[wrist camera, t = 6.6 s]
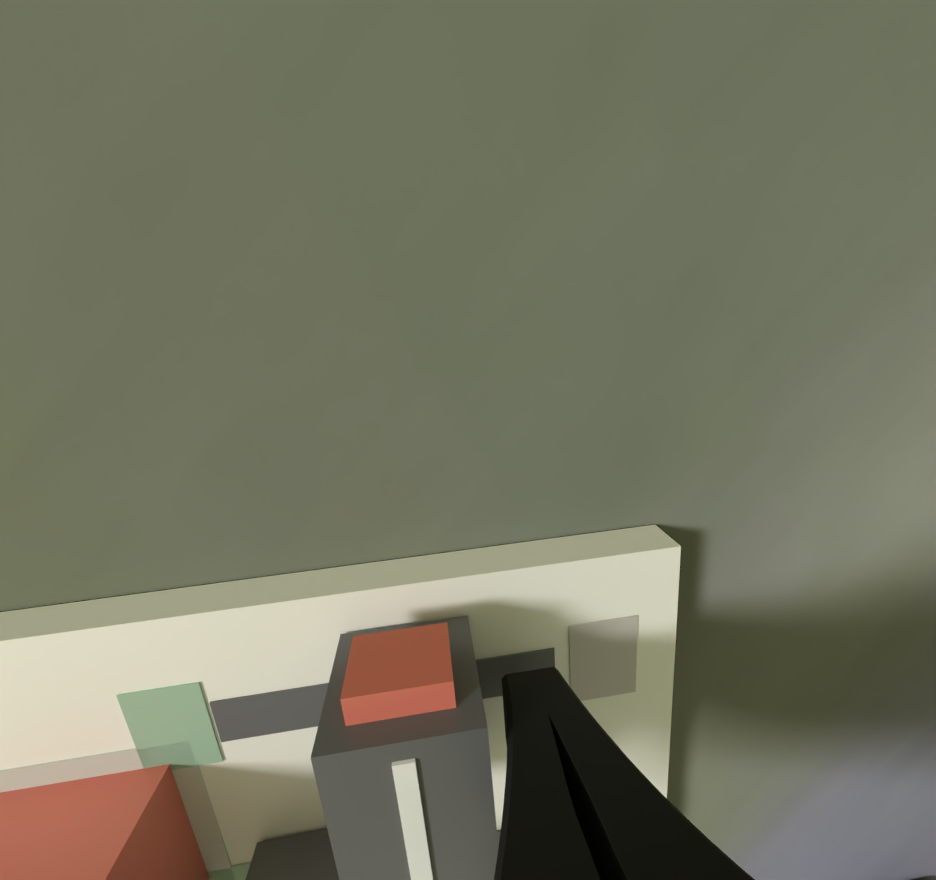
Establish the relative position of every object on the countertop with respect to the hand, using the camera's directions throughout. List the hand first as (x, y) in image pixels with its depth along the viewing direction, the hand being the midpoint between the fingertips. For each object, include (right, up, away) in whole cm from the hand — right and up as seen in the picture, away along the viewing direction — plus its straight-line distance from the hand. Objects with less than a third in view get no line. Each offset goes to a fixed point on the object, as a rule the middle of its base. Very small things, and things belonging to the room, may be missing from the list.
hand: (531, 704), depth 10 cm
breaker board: (-5, -3, +2) cm, 6 cm away
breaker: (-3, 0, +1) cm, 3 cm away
